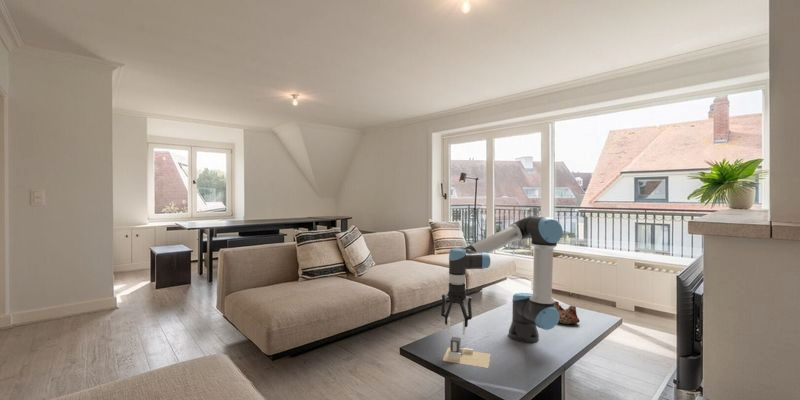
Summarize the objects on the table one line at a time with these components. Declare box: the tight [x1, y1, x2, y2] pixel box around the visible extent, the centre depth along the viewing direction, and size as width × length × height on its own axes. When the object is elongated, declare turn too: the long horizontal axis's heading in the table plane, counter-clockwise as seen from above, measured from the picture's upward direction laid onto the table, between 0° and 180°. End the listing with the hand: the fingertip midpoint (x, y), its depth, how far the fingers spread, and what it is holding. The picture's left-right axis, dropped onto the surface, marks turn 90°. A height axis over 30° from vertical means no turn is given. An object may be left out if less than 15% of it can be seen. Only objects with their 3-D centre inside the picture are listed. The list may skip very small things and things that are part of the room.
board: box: [442, 346, 492, 369], centre depth 159 cm, size 20×14×4 cm
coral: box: [554, 300, 580, 325], centre depth 210 cm, size 18×13×15 cm
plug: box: [449, 336, 462, 353], centre depth 159 cm, size 4×5×8 cm
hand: (456, 332), depth 159 cm, fingers open, 6 cm apart
